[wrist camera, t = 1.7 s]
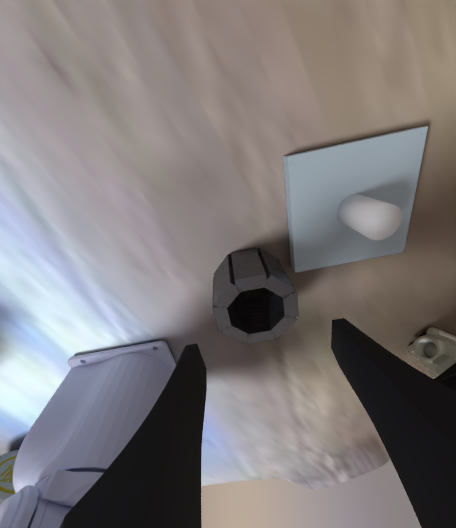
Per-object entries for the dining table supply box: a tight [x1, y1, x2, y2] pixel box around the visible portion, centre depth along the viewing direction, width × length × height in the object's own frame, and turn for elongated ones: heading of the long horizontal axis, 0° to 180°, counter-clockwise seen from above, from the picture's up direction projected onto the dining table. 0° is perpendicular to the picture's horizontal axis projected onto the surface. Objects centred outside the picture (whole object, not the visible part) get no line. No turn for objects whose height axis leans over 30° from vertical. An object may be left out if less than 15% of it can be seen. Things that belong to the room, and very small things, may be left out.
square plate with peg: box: [283, 126, 428, 273], centre depth 14 cm, size 8×8×4 cm
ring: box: [213, 248, 299, 344], centre depth 16 cm, size 5×5×4 cm
